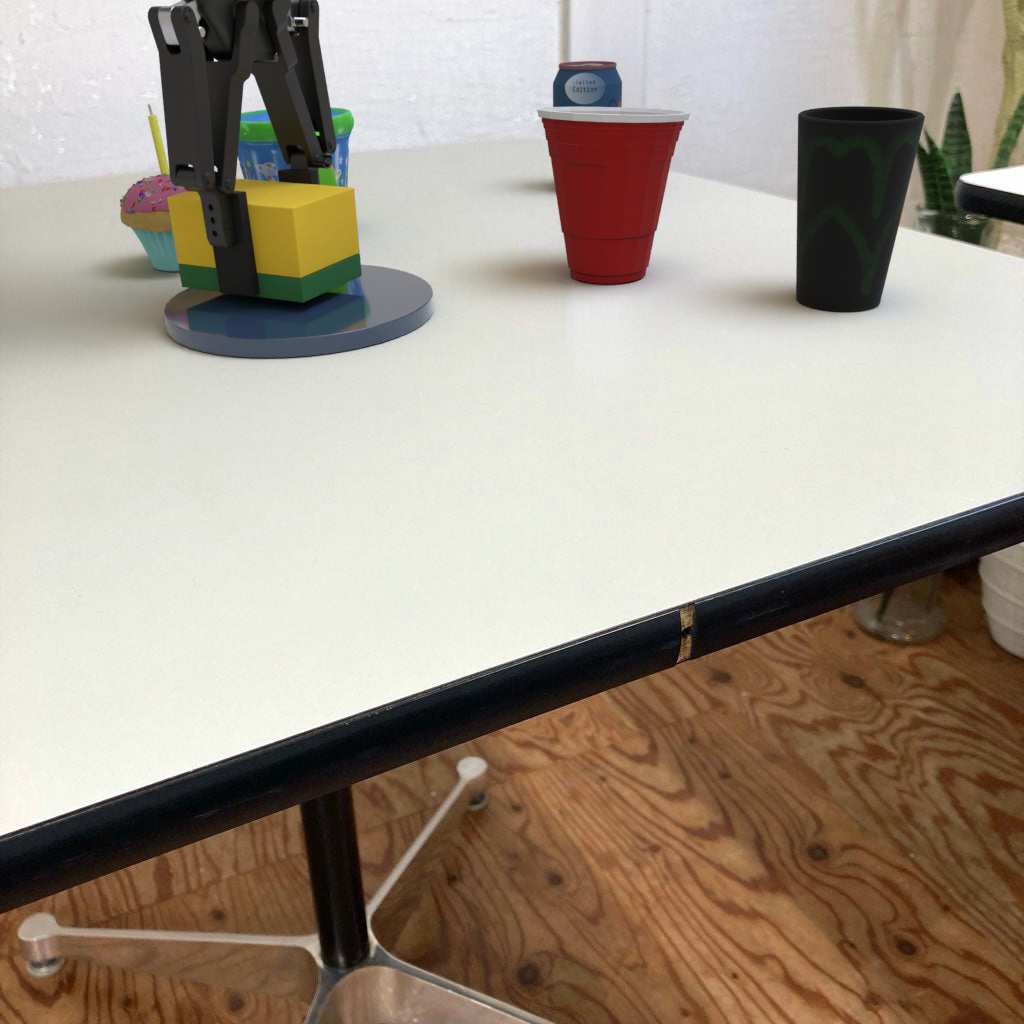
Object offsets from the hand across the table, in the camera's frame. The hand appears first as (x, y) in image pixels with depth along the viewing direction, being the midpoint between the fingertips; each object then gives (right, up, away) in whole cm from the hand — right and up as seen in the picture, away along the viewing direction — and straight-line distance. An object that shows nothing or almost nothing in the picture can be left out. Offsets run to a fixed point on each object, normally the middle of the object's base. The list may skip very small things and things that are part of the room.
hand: (275, 277), depth 71 cm
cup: (+39, -2, 0) cm, 39 cm away
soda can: (+24, +18, +37) cm, 48 cm away
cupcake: (-10, +4, +13) cm, 17 cm away
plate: (+2, -3, 0) cm, 3 cm away
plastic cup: (+24, +2, +7) cm, 25 cm away
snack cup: (-2, +8, +21) cm, 23 cm away
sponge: (0, 0, 0) cm, 0 cm away
